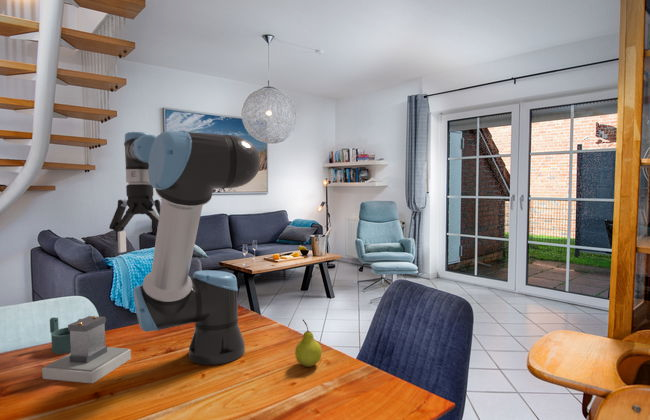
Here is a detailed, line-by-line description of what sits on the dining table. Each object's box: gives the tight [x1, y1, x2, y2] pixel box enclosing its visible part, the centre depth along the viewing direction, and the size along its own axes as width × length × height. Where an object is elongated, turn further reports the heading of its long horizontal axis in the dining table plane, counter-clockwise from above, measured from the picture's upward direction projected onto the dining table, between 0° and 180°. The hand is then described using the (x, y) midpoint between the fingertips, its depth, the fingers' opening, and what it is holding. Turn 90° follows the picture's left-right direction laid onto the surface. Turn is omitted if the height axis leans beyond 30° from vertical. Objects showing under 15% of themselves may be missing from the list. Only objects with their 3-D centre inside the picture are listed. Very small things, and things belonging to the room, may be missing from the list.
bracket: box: [49, 317, 82, 355], centre depth 117 cm, size 9×9×9 cm
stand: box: [41, 346, 132, 384], centre depth 103 cm, size 14×14×3 cm
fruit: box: [294, 318, 323, 368], centre depth 104 cm, size 7×7×12 cm
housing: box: [67, 315, 108, 363], centre depth 103 cm, size 7×5×10 cm
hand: (142, 252), depth 123 cm, fingers open, 13 cm apart
